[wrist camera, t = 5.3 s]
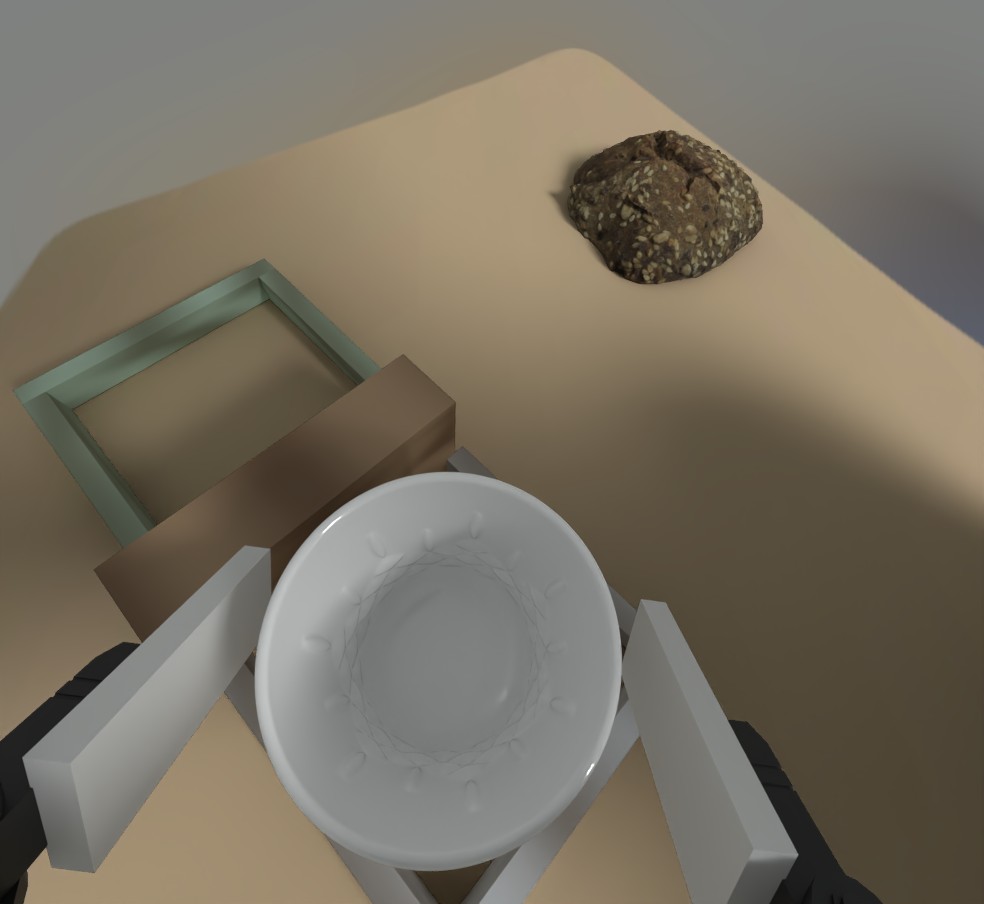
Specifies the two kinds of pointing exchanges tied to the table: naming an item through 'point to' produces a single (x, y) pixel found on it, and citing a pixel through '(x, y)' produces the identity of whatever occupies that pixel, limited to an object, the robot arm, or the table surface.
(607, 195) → the bread roll
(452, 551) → the white cup
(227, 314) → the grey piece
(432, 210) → the table surface
